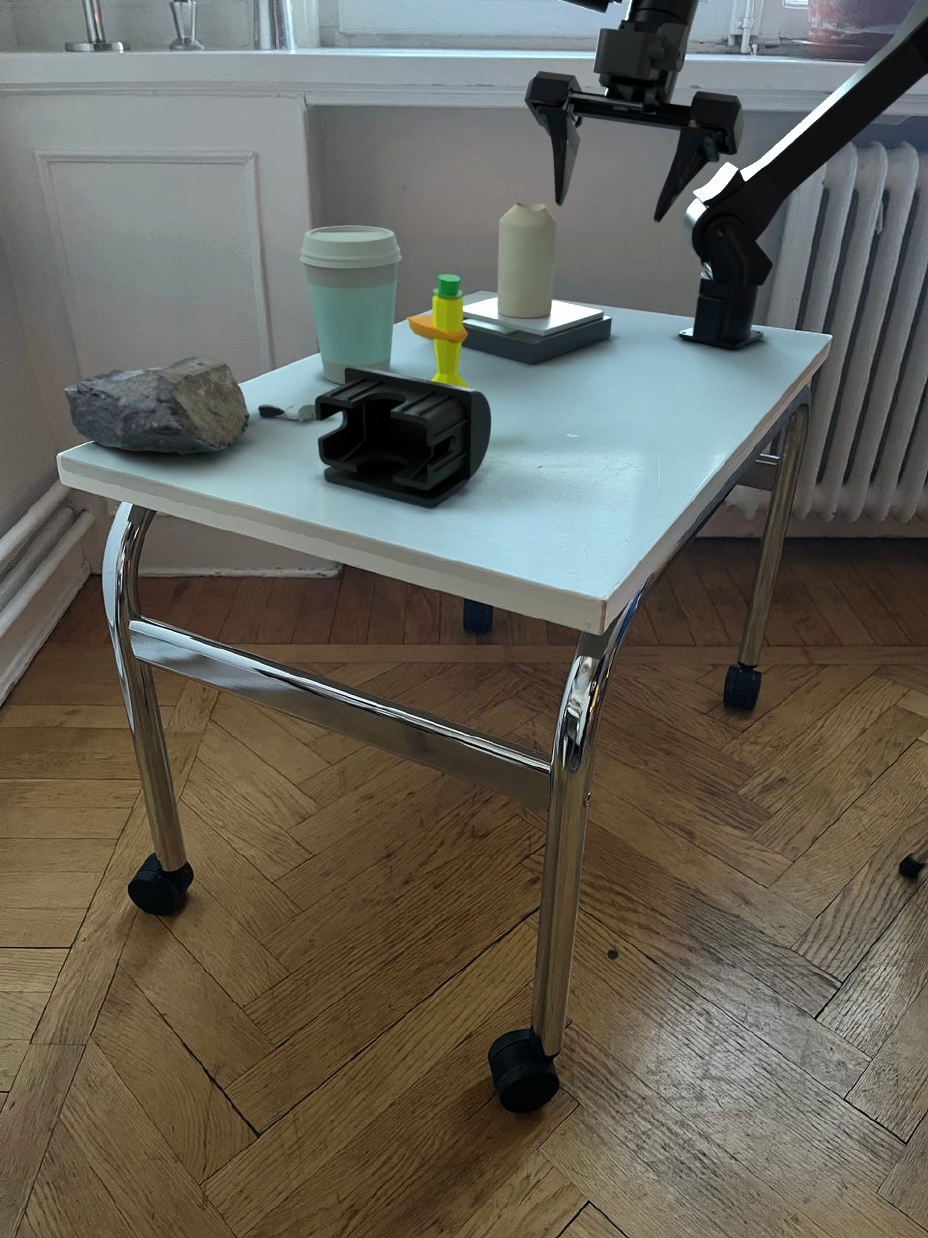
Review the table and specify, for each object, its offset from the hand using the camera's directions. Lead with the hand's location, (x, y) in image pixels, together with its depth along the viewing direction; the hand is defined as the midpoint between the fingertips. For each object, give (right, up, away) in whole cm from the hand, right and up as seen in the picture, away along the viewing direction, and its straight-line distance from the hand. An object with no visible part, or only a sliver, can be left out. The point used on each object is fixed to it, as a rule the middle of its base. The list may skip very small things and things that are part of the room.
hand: (606, 212), depth 82 cm
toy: (-28, -21, -10) cm, 36 cm away
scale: (-7, -8, +12) cm, 16 cm away
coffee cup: (-22, -15, +1) cm, 27 cm away
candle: (-7, -6, +10) cm, 13 cm away
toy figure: (-14, -23, -12) cm, 30 cm away
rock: (-38, -25, -14) cm, 48 cm away
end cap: (-17, -27, -18) cm, 36 cm away
